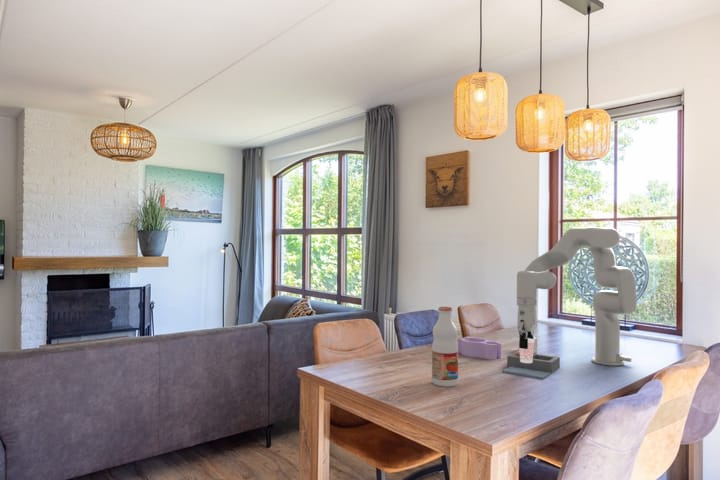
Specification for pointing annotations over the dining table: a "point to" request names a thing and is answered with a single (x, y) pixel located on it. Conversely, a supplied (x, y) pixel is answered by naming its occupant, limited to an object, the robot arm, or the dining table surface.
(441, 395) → the dining table surface
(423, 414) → the dining table surface
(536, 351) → the medicine bottle
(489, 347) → the purple cup holder
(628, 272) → the robot arm
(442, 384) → the fruit juice
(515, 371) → the mat
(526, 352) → the beverage cup
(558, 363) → the grey desk organizer
